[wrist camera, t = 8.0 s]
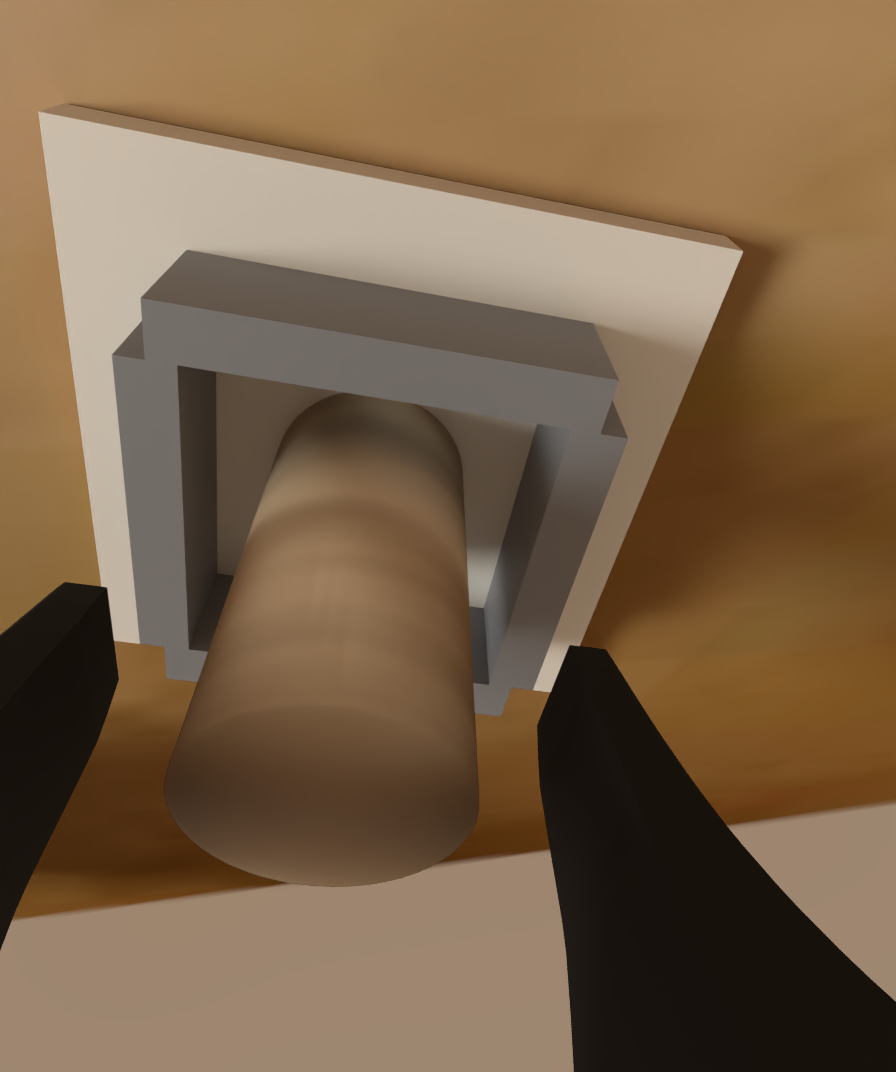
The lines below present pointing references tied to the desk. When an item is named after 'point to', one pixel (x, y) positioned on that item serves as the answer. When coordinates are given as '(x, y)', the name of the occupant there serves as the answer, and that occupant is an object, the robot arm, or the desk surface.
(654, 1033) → the robot arm
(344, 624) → the rail end peg
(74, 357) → the cup bracket
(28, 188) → the desk surface
